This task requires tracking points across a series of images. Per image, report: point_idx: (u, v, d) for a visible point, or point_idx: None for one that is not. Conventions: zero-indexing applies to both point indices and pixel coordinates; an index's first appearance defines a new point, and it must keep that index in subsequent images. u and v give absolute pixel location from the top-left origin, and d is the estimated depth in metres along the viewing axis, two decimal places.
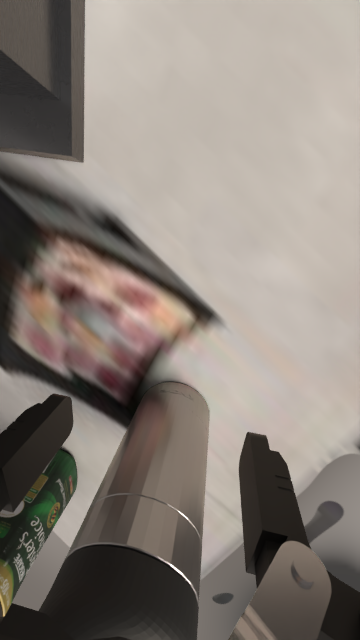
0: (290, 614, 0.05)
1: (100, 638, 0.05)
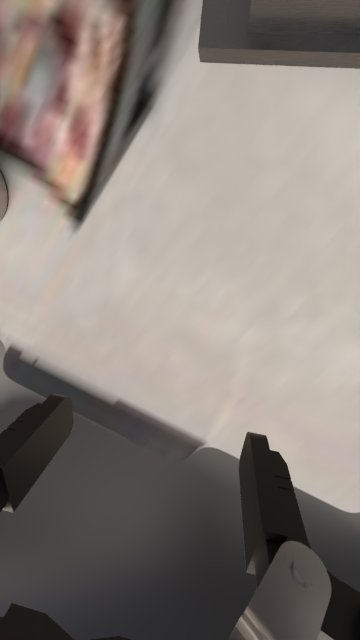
0: (290, 614, 0.05)
1: (100, 638, 0.05)
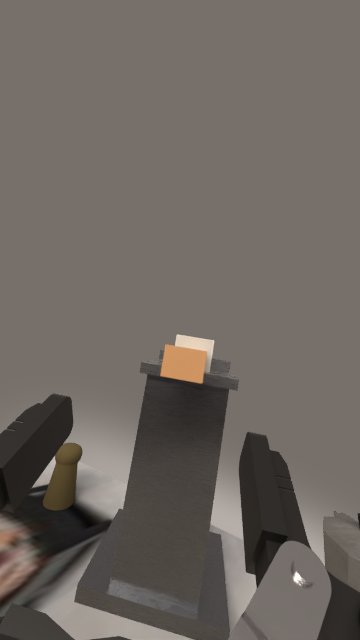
0: (290, 614, 0.05)
1: (100, 638, 0.05)
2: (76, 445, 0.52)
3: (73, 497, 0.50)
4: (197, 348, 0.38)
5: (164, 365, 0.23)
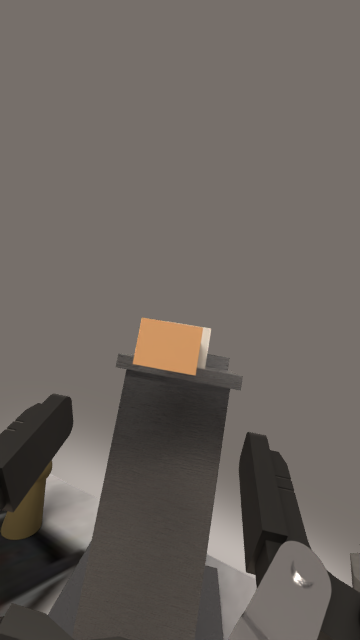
0: (290, 614, 0.05)
1: (100, 638, 0.05)
2: None
3: (39, 521, 0.42)
4: None
5: (139, 348, 0.15)
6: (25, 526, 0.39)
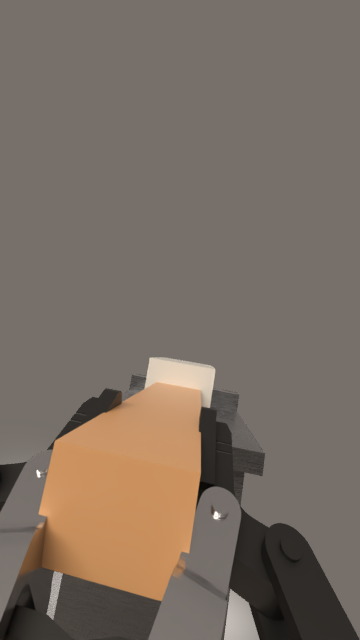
0: (200, 537, 0.06)
1: (100, 638, 0.05)
2: None
3: None
4: (185, 383, 0.22)
5: None
6: None
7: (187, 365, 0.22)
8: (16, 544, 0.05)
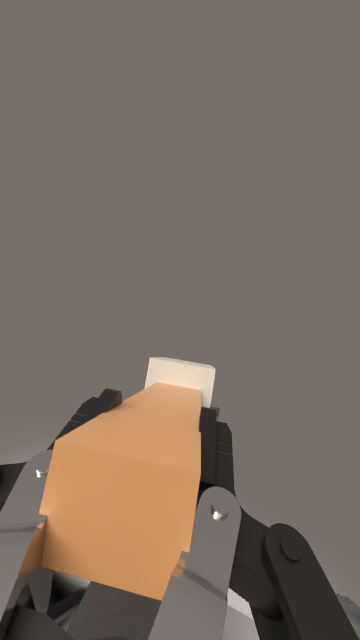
0: (200, 537, 0.06)
1: (100, 638, 0.05)
2: None
3: None
4: (185, 383, 0.22)
5: None
6: None
7: (187, 365, 0.22)
8: (17, 544, 0.05)
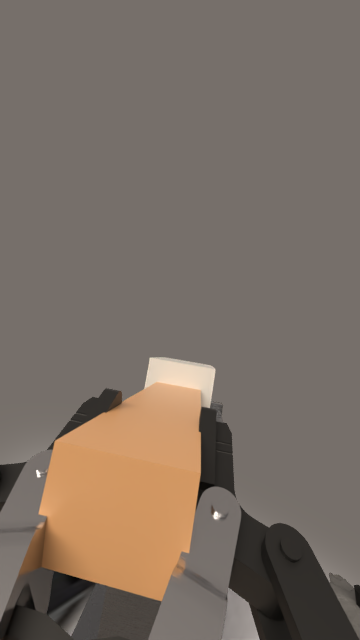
0: (200, 537, 0.06)
1: (100, 638, 0.05)
2: None
3: None
4: (185, 383, 0.22)
5: None
6: None
7: (187, 365, 0.22)
8: (16, 544, 0.05)
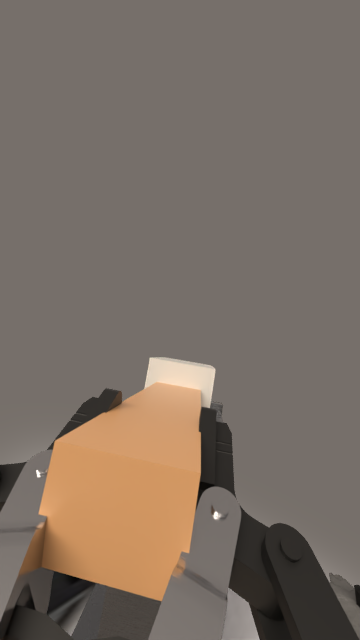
0: (200, 537, 0.06)
1: (100, 638, 0.05)
2: None
3: None
4: (185, 383, 0.22)
5: None
6: None
7: (187, 365, 0.22)
8: (16, 544, 0.05)
